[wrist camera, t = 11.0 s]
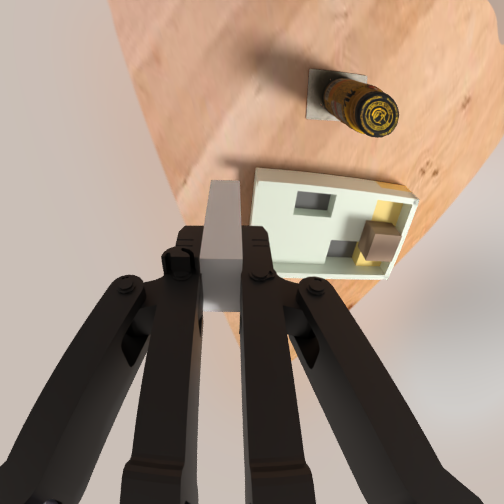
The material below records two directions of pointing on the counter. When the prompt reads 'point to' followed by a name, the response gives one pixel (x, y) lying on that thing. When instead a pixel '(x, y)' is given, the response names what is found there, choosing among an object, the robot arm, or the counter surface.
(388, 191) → the box
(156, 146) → the counter surface
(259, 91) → the counter surface
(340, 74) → the condiment
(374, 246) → the block
